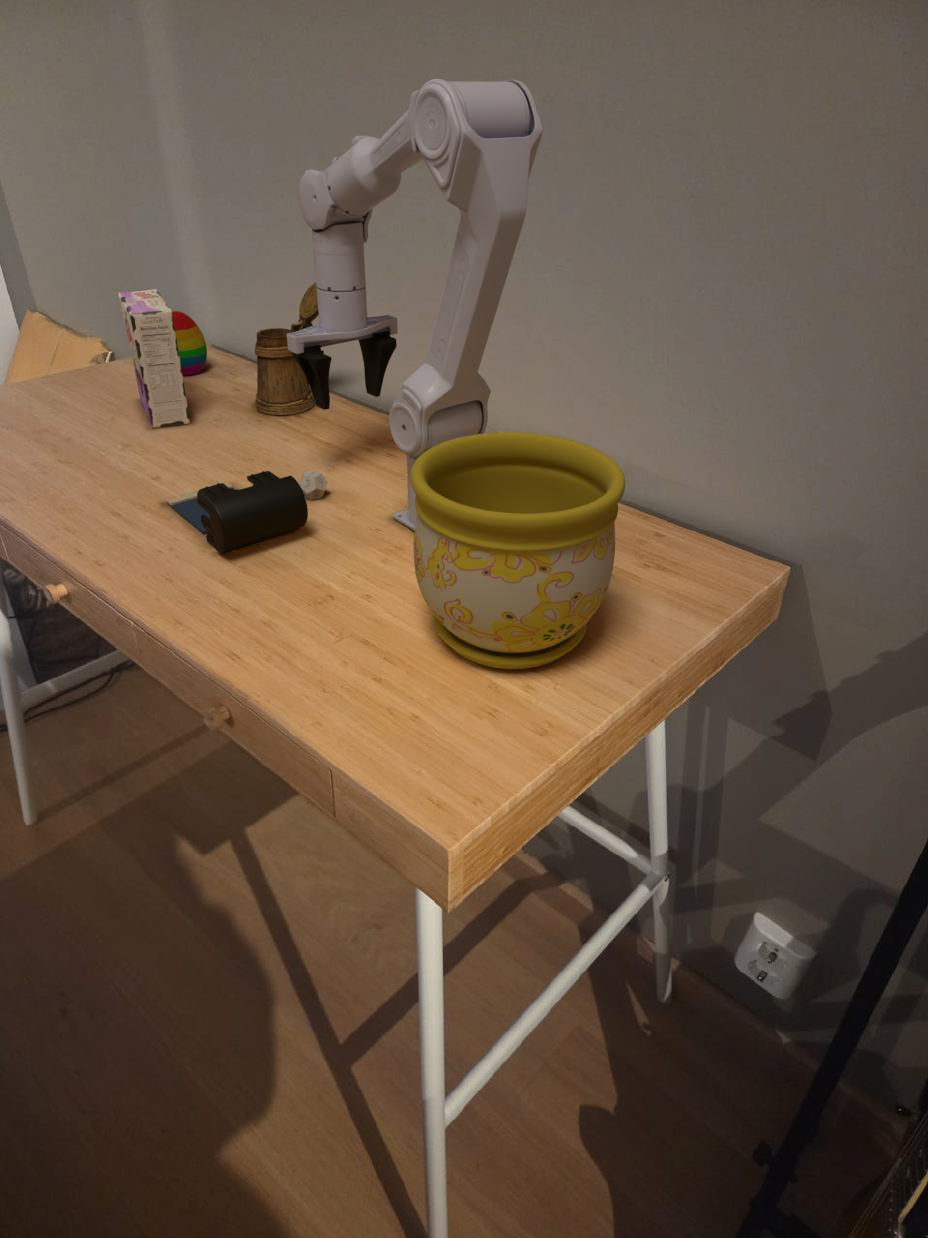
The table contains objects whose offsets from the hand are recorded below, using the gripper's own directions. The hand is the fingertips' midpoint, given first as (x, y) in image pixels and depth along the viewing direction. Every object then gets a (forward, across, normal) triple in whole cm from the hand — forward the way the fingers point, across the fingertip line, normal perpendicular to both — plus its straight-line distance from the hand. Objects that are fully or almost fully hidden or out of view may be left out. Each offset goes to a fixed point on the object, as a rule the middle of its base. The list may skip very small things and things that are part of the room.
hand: (348, 400), depth 104 cm
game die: (+10, +8, +3) cm, 13 cm away
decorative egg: (+10, -2, -54) cm, 54 cm away
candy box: (+10, +10, -37) cm, 39 cm away
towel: (+9, +19, -1) cm, 21 cm away
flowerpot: (+10, +10, +40) cm, 43 cm away
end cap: (+10, +19, +9) cm, 23 cm away
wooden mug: (+10, -8, -27) cm, 30 cm away
